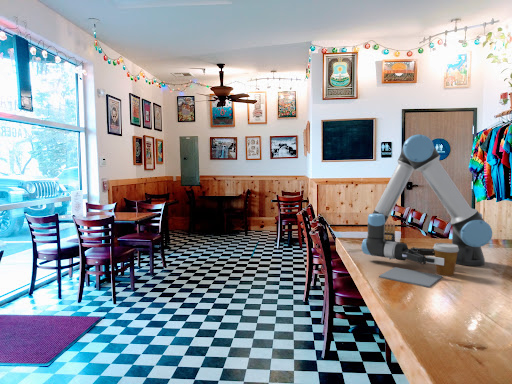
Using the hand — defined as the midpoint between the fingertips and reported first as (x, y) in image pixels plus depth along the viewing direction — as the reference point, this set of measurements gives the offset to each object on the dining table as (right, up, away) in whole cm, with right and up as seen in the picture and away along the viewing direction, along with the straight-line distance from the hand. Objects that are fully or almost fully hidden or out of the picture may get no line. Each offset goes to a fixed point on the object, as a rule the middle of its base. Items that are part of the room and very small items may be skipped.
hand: (448, 258), depth 152 cm
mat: (-17, -7, -4) cm, 19 cm away
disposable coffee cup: (-1, -7, +1) cm, 7 cm away
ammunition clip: (-2, -2, +68) cm, 69 cm away
